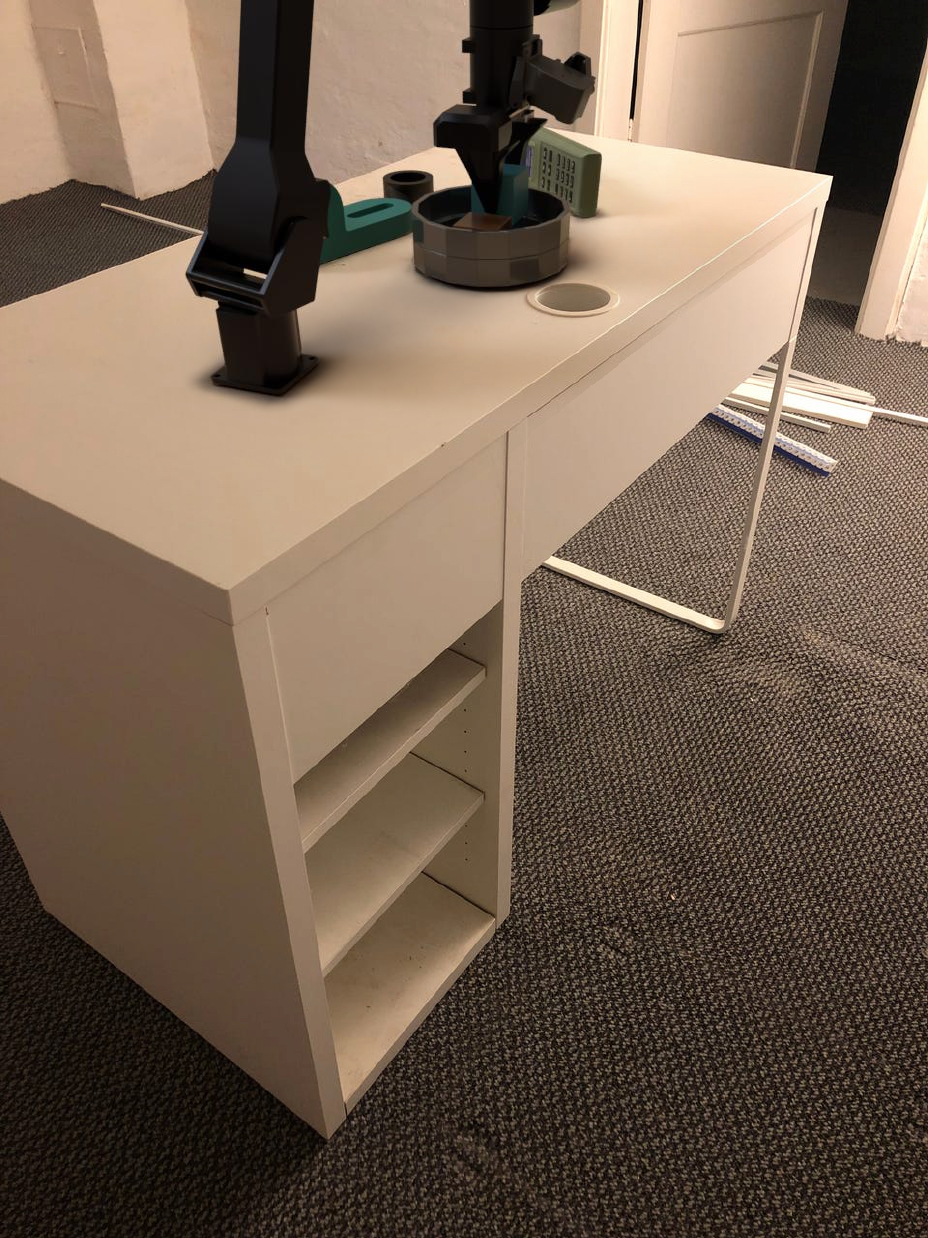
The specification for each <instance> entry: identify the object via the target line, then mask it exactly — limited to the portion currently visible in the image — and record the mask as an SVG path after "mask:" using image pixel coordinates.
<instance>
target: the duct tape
mask: <svg viewBox="0 0 928 1238" xmlns="http://www.w3.org/2000/svg"><path fill="white" fill-rule="evenodd" d="M434 181H435V180H434V175H433V173H430V172H428V171H424V170H415V169H409V170H408V169H407V170H406V169H405V170H396V171H391V172H388V173H386V174H384V175H383V176H382V191H383V198H394V199H400V200H404V201H407V202H409V203H410V204H411V205H413V203H414V202H415V201H417V200H418V199H420V198H421V197H423V196H424V195H425V194H429V193H432V192H435V183H434Z"/></svg>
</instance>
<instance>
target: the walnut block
mask: <svg viewBox="0 0 928 1238" xmlns="http://www.w3.org/2000/svg"><path fill="white" fill-rule="evenodd" d="M453 228H461V229H470V230H511V229H512V217H510V216H501V215H492V214H483V213H474V212H469V213H468V214H467V215H465V216H464V217H463V218H462V219H460V220H459V221H458V222H457V223H455V224H454V225H453Z"/></svg>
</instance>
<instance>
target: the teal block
mask: <svg viewBox="0 0 928 1238" xmlns="http://www.w3.org/2000/svg"><path fill="white" fill-rule="evenodd" d="M470 182H471V181H470ZM470 185H471V206H472V212H474V213H483V214H488V213H486V212H485V210H484V208H483V206H482V204H481V202H480V199H479V197H478V195H477V193H476V190H475V188H474V186H473V184H472V182H471V184H470ZM528 187H529V166H524V165H513V164H504V169H503V177H502V184H501V191H500V198H499V204H498V209H497V212H496V213H495V214H492V215H501V216H510V217H512V225H514V224H515V223H516V222H517V221H518V220H520V219H521V218H522V217H523V216H524V215H525V214H526V213H527V212H528Z"/></svg>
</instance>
